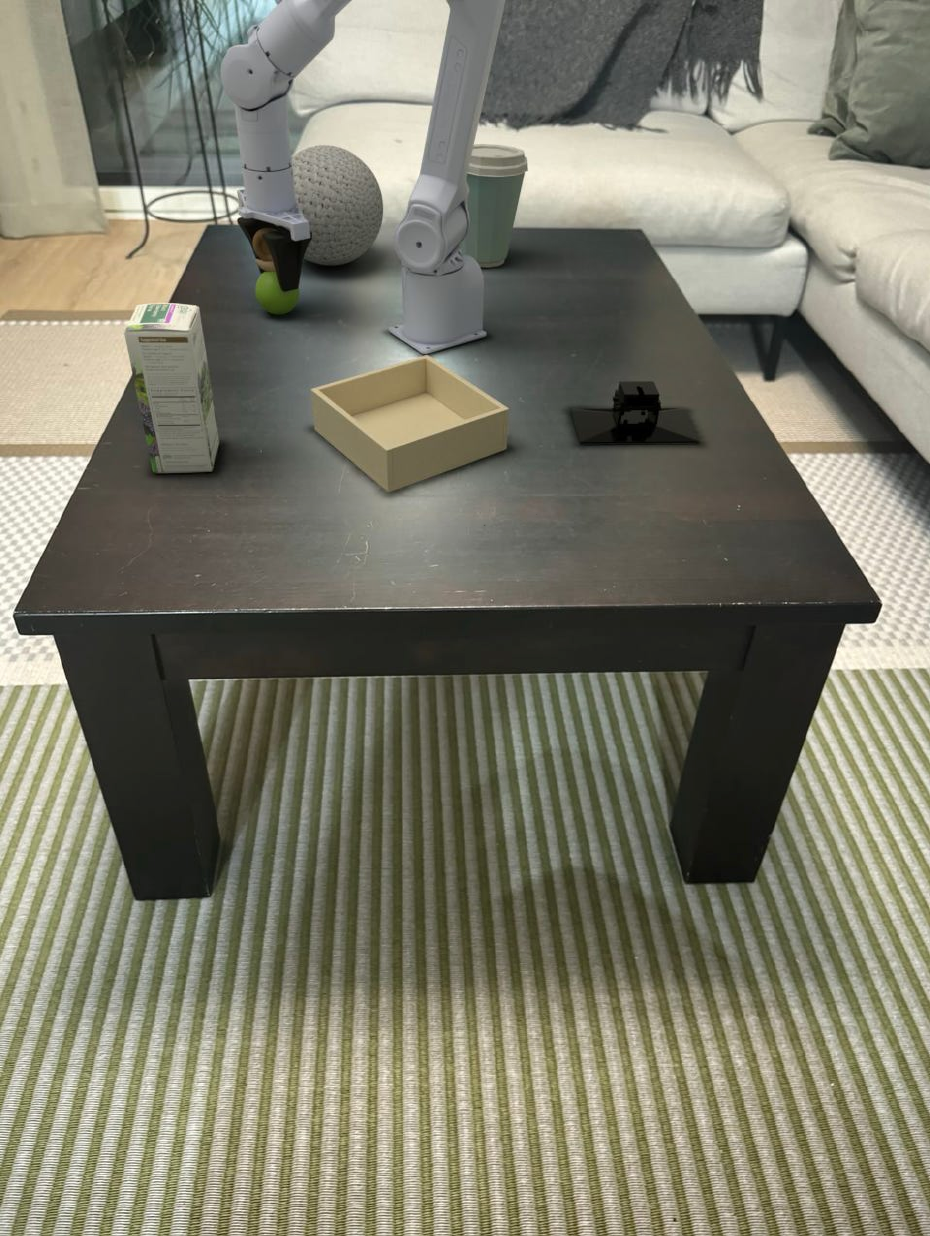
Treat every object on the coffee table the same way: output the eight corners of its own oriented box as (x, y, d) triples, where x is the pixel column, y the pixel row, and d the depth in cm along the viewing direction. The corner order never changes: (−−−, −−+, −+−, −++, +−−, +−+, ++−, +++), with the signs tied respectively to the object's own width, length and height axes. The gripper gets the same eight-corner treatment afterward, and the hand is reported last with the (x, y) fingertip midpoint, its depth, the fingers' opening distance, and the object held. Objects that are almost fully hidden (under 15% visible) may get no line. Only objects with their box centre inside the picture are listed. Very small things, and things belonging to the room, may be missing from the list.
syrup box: (162, 443, 92) (131, 302, 82) (222, 442, 92) (198, 301, 83) (153, 474, 87) (119, 329, 78) (215, 473, 88) (189, 328, 78)
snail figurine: (300, 324, 114) (290, 225, 106) (251, 319, 115) (238, 219, 107) (314, 307, 118) (306, 210, 110) (267, 302, 119) (255, 205, 111)
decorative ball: (406, 260, 131) (404, 146, 121) (333, 291, 122) (324, 170, 112) (331, 236, 138) (323, 126, 128) (256, 263, 129) (241, 147, 119)
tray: (427, 393, 101) (427, 354, 98) (506, 449, 93) (509, 408, 89) (314, 429, 94) (310, 388, 91) (388, 493, 86) (386, 450, 83)
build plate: (579, 446, 94) (584, 405, 91) (569, 411, 99) (573, 371, 96) (698, 444, 94) (707, 403, 91) (682, 409, 100) (689, 369, 97)
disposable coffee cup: (440, 249, 135) (441, 137, 125) (510, 245, 137) (517, 135, 127) (457, 276, 127) (460, 159, 117) (531, 271, 129) (540, 156, 119)
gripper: (207, 154, 107) (224, 270, 116) (264, 186, 99) (278, 309, 107) (262, 146, 110) (274, 259, 119) (322, 176, 102) (330, 296, 111)
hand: (279, 282), depth 114 cm, fingers closed on snail figurine, 4 cm apart
